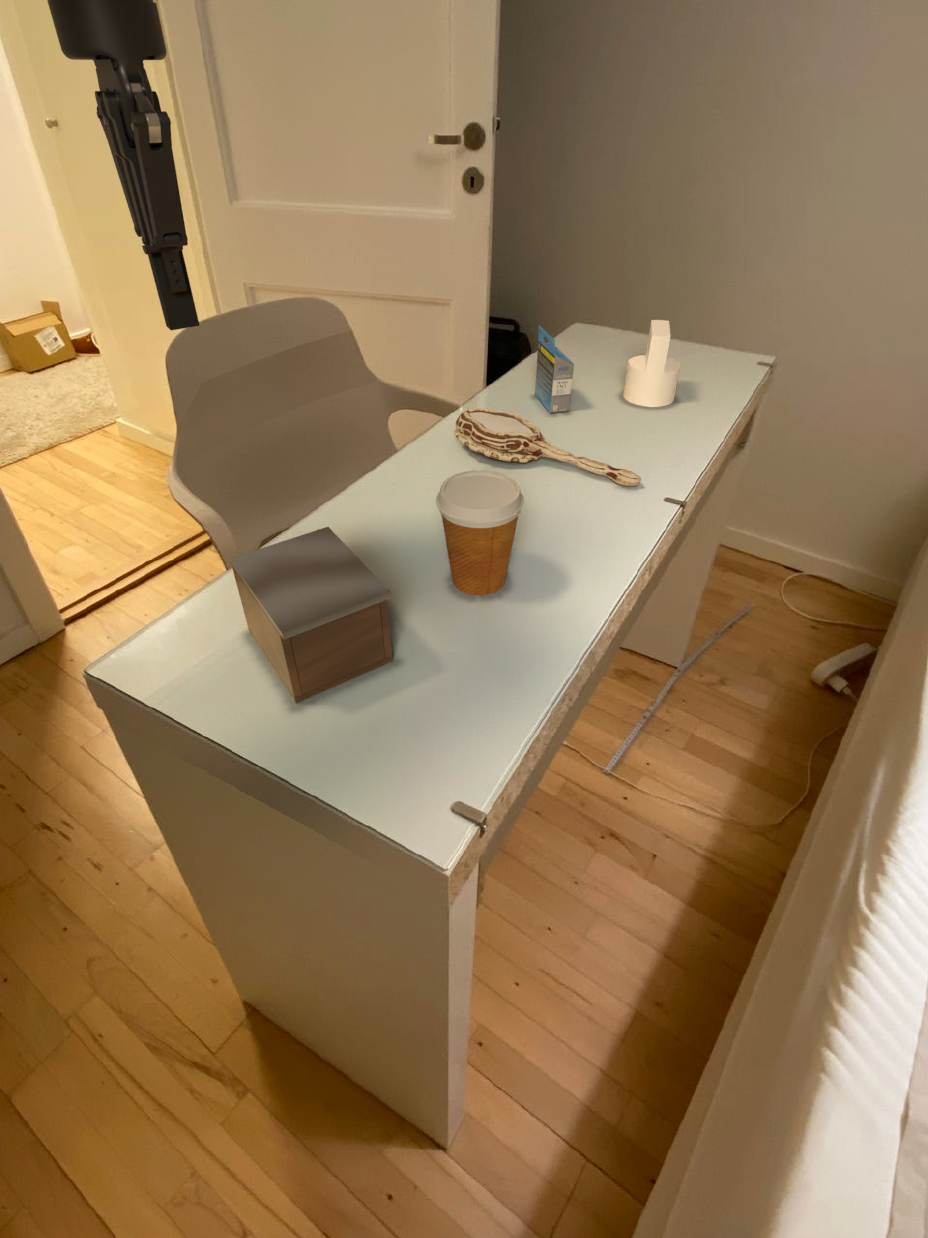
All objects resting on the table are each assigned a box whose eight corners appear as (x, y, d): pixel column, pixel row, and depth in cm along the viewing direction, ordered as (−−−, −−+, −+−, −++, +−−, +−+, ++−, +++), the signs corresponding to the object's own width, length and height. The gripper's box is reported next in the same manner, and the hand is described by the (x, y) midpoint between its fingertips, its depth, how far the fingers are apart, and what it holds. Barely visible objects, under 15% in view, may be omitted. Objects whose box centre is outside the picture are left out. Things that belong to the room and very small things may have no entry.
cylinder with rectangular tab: (623, 385, 127) (633, 318, 119) (673, 389, 126) (686, 321, 118) (622, 404, 120) (633, 334, 113) (674, 408, 119) (689, 337, 111)
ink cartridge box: (570, 412, 118) (577, 338, 110) (549, 414, 117) (555, 340, 109) (553, 392, 124) (559, 322, 117) (533, 394, 124) (537, 323, 116)
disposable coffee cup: (445, 554, 84) (443, 465, 77) (522, 559, 83) (527, 471, 76) (431, 600, 77) (428, 508, 70) (515, 608, 76) (521, 515, 69)
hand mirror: (628, 490, 92) (439, 423, 101) (621, 521, 96) (441, 455, 106) (657, 445, 97) (474, 386, 107) (649, 476, 102) (475, 417, 111)
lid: (391, 598, 63) (390, 591, 63) (283, 640, 59) (282, 633, 58) (329, 532, 72) (328, 526, 71) (231, 564, 67) (229, 558, 67)
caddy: (393, 661, 70) (386, 593, 64) (295, 704, 65) (279, 634, 59) (339, 598, 78) (329, 533, 72) (249, 632, 73) (231, 565, 67)
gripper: (178, -13, 48) (245, 336, 63) (130, -2, 56) (200, 304, 71) (62, -19, 44) (162, 351, 59) (29, -6, 53) (125, 316, 68)
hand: (183, 325), depth 65 cm, fingers closed
